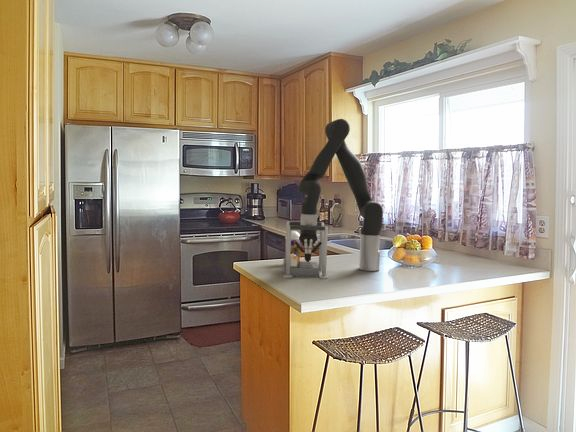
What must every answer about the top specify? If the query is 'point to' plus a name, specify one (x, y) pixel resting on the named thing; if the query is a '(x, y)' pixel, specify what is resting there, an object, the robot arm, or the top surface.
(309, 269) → the gray open tray
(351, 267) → the top surface
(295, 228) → the gray open frame stand
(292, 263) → the toggle white near
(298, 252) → the smoothie
